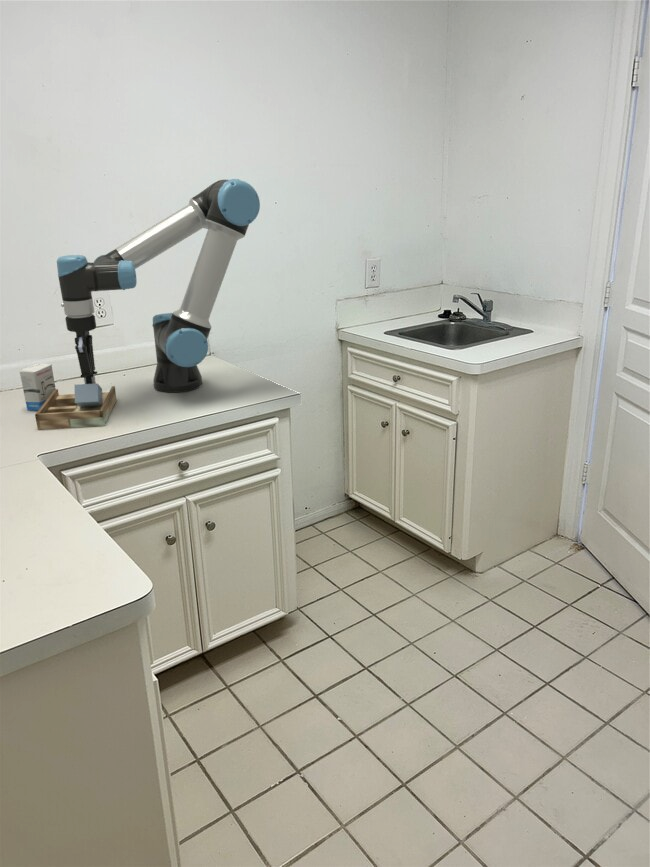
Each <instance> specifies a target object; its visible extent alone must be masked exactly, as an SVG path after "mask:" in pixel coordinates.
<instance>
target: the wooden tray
mask: <svg viewBox="0 0 650 867" xmlns="http://www.w3.org/2000/svg"><path fill="white" fill-rule="evenodd" d="M102 400H103V405H102V406H97V407H79V406H78V405H77V404H76V403H75V393H70V394H67V393H66V394H60V393H59V389H58V388H56V389H55V390H54V391H53V392H52V394H51V395H50V396H49V397H48V399H47V400H46V401H45V403H44V404H43V405H42V406H41V408H40V409H39V410H38V411H36V413H35V414H34V416H35V422H36V428H37V430H55V429H71V428H89V427H105V425H106V423H107V421H108V418H109V417H110V415H111V413H112V410H113V408H114V406H115V404H116V402H117V393H116V386H115V385H113V386H111V387H110V389H109V391H108V392H107V391H106V392H102Z"/></svg>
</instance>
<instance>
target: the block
mask: <svg viewBox="0 0 650 867" xmlns="http://www.w3.org/2000/svg"><path fill="white" fill-rule="evenodd" d="M102 393H103V388H102V387H101V386H100V385H99V383H97V382H96V384H85V383H84V384H74V394H75V403H76V404H77V405H78V406H79V407H97V406H102V405H103V400H102Z"/></svg>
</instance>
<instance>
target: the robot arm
mask: <svg viewBox="0 0 650 867" xmlns="http://www.w3.org/2000/svg"><path fill="white" fill-rule="evenodd" d="M260 208H261V202H260V196H259V194H258V192H257V191H256V189H255V188H254V187H253V186H252V185H251V184H250V183H248V182H247V181H244V180H241V179H239V178H232V179H219V180H217V181H215V182H213V183H212V184H210V185H209V186H207V187H206V188H205V189H203V190H202V191H201V192H199V193H198V194H196V195H194V196H193V197H192V198H190V199H189V201H188V204H187V205H185V206H184V207H182V208H181V209H179V210H177V211H175V212H174V213H172V214H171V215H169V216H167V217H166V218H164V219H162V220H161V221H159V222H157V223H156V224H154V225H152V226H151V227H149V228H147V229H146V230H144V231H142V232H140V233H138V234H137V235H136V236H134V237H132V238H131V239H129V240H128V241H127V240H126V242H124V243H123V244H121V245H119V246H117V247H116V248H115V249H112V250H111V251H109V252H108V253H106V254H102V255H99V256H98V257H96V258H95V260H94V261H93V262H91V261H89V262H88V260H87V257H86V255H84V254H83V255H80V254H71V255H70V254H69V255H67V254H66V255H62V256H59V257H58V258H57V260H56V268H57V276H58V281H59V288H60V294H61V299H62V303H60V306H61V307H62V308H63V312H64V315H65V324H66V329H67V331H69V332H70V333H71V332H72V333H75V337H74V344H75V346H74V349H75V351H76V355H77V360H78V363H79V368H80V372H81V373H80V374H81V375H80V378H81V379H82V378H83V382H84V384H97V380H96V376H95V375H98V371H96V363H95V355H94V346H93V336H92V334H91V333H90V331H94V330H95V329H96V328H97V323H96V322H97V321H96V316H95V315H94V313H95V306H94V301H93V300H94V299H93V295H92V293H93V292H102V291H120V290H121V291H126V290H130V289H134V288H136V286H137V272H136V269H138V268H140V267H141V266H143V265H145V264H146V263H148V262H149V261H151V260H153V259H154V258H156V257H158V256H159V255H162V254H163V253H164V252H166V251H168V250H169V249H171V248H172V247H174V246H176V245H177V244H179V243H181V242H182V241H184V240H186V239H187V238H189V237H190V236H192V235H194V234H196V233H197V232H199V231H201V230H202V229H205V230H207V232H206V234H205V237H204V239H203V243H202V245H201V249H200V252H199V254H198V257H197V259H196V262H195V266H194V268H193V271H192V274H191V276H190V278H189V279H190V280H189V282H188V284H187V288H186V290H185V294H184V297H183V299H182V301H181V302H182V303H181V304H180V307H179V309H177V310H175V311H173V312H167V313H160V314H158V313H157V314H155V315H154V316H153V317H152V324H151V326H152V329H153V337H154V346H155V355H156V356H155V357H156V367H155V372H154V375H153V376H154V377H153V388H154V389H155V390H157V391H159V392H164V393H181V392H182V393H183V392H188V391H194V390H196V389H199V388H200V387H202V385H203V377H202V374H201V372H200V370H199V367H198V365H199V364H201V363H202V362H203V360H205V359H206V357H207V354H208V352H209V343H208V339H209V335H210V332H211V329H212V325H211V323H210V317H211V314H212V312H213V309H214V306H215V303H216V300H217V298H218V295H219V293H220V289H221V286H222V284H223V281H224V278H225V276H226V274H227V270H228V267H229V264H230V262H231V258H232V257H233V254H234V251H235V248H236V245H237V243H238V241H239V240H241V239H243V238H245V236H246V234H247V231H248V228H249V227H250V226H249V225H250V224H252V223H253V222H254V221H255V220H256V219H257V217H258V215H259V213H260Z"/></svg>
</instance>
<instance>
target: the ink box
mask: <svg viewBox="0 0 650 867" xmlns="http://www.w3.org/2000/svg"><path fill="white" fill-rule="evenodd" d="M52 366H53V365H52V364H50V363H34V364H32V365H30V366H27V367H25V368H23V369H21V370H20V371H19V375H20V381H21V386H22V390H23V395H24V400H25V405H26V410H27V411H36V412H38V410H39V409H40V408H41V406H42V405H43V404H44V403H45V401H46V400H47V399H48V397H49V396H50V395H51V394H52V392H53V391H54V390H55V389H57V388H56V383H55V378H54V370H53V367H52Z"/></svg>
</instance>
